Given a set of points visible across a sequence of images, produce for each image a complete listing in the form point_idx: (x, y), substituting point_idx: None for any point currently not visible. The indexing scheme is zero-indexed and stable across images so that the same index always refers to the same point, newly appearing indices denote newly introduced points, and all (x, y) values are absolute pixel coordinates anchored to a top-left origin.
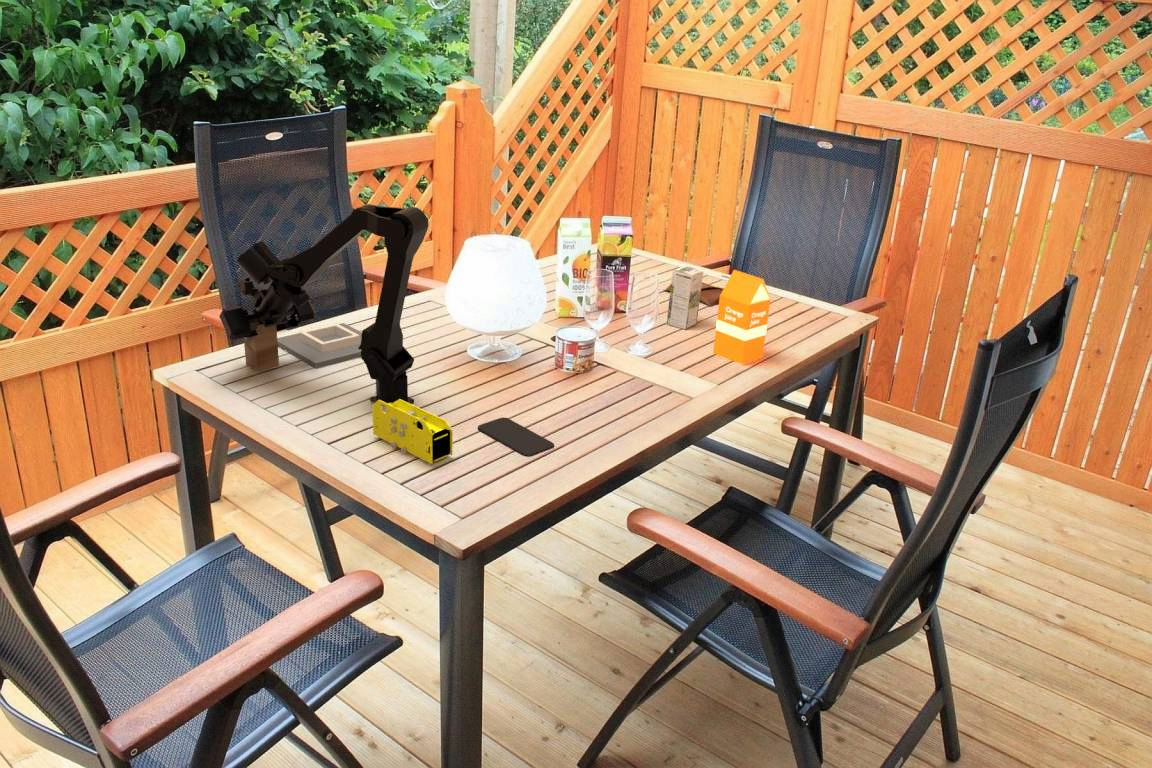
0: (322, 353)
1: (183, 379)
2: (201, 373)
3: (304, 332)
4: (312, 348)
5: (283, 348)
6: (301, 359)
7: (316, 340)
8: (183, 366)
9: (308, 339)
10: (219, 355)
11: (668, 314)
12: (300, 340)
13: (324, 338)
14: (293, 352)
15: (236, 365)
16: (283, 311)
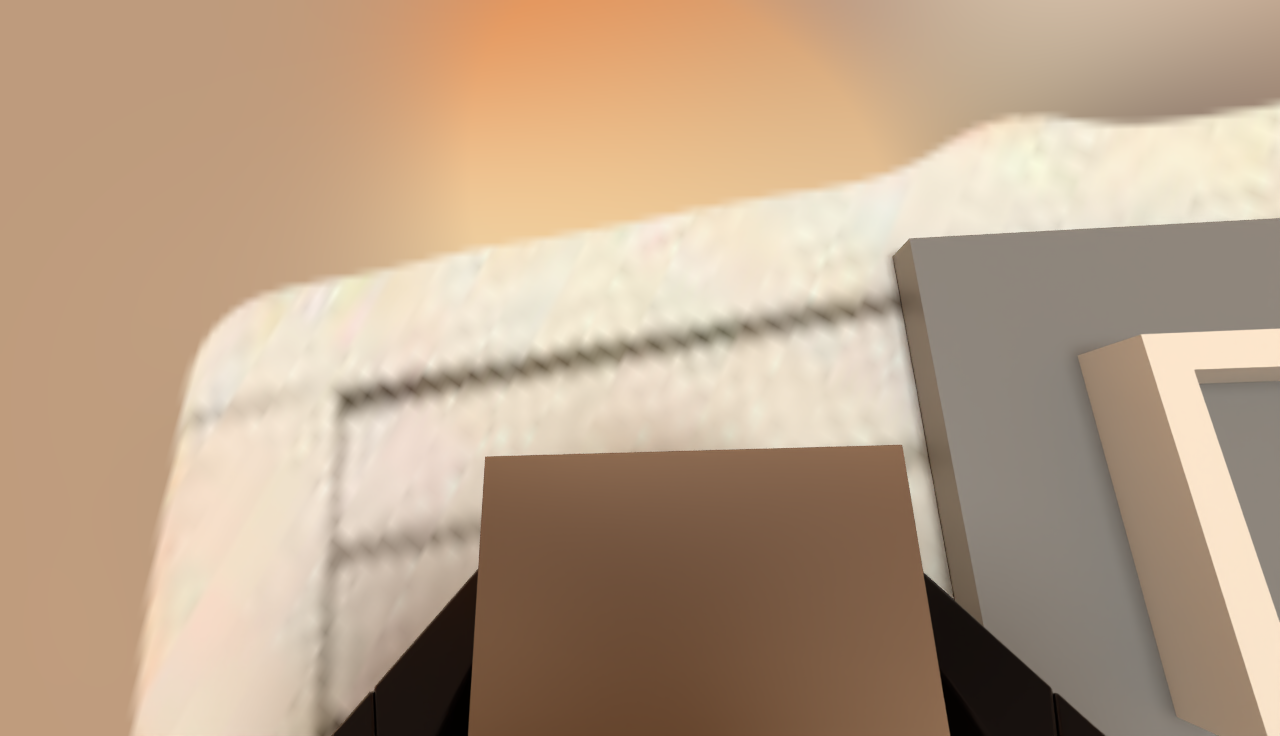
0: (1171, 729)
1: (219, 482)
2: (337, 454)
3: (1178, 365)
4: (1119, 563)
5: (917, 369)
6: None
7: (1240, 614)
8: (326, 304)
9: (1159, 479)
10: (549, 258)
11: None
12: (1077, 357)
13: (1275, 417)
14: (951, 510)
15: (551, 454)
16: None
